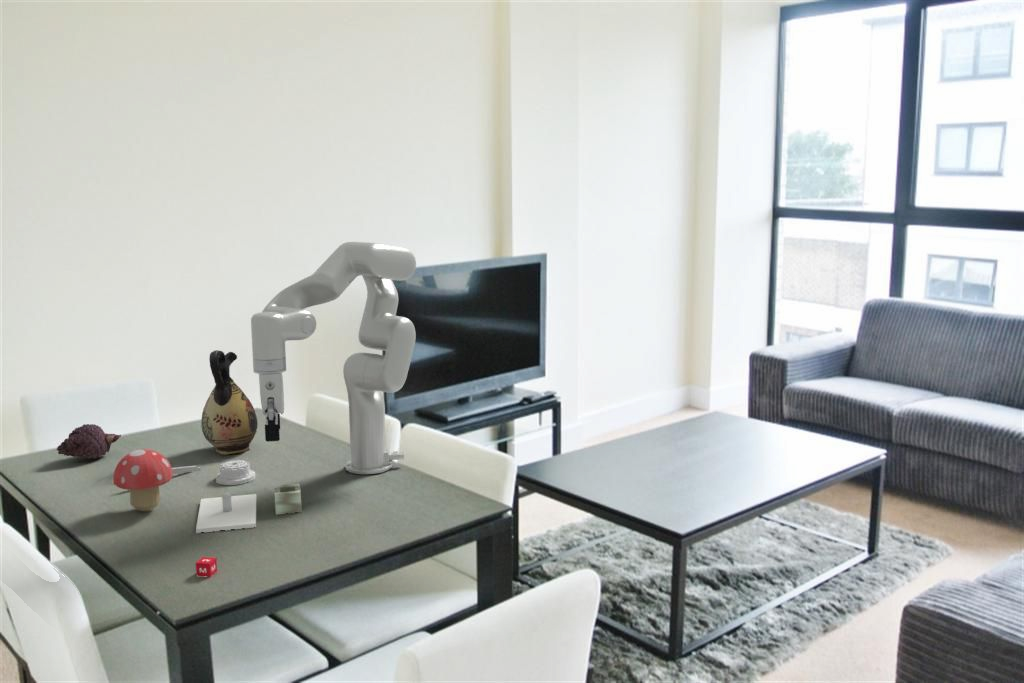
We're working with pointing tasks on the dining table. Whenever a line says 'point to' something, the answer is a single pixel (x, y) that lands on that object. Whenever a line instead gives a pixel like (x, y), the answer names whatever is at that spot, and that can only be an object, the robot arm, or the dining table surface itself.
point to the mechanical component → (235, 473)
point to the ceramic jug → (227, 410)
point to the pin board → (227, 513)
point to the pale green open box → (287, 499)
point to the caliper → (185, 469)
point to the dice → (206, 566)
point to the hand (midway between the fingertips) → (273, 435)
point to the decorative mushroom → (143, 477)
